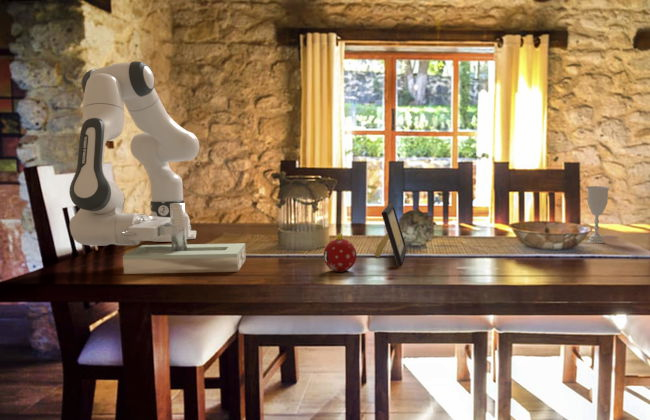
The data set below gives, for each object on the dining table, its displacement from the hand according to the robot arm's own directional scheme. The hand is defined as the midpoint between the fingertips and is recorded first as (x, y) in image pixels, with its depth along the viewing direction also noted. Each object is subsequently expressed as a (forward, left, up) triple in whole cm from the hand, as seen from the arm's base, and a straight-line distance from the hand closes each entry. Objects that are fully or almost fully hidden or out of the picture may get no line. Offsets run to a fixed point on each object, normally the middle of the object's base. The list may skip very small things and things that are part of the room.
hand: (181, 228), depth 153 cm
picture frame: (-8, +58, -11) cm, 60 cm away
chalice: (-26, +128, -11) cm, 131 cm away
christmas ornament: (+10, +43, -11) cm, 46 cm away
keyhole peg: (0, -1, -9) cm, 9 cm away
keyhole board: (0, +1, -11) cm, 11 cm away
